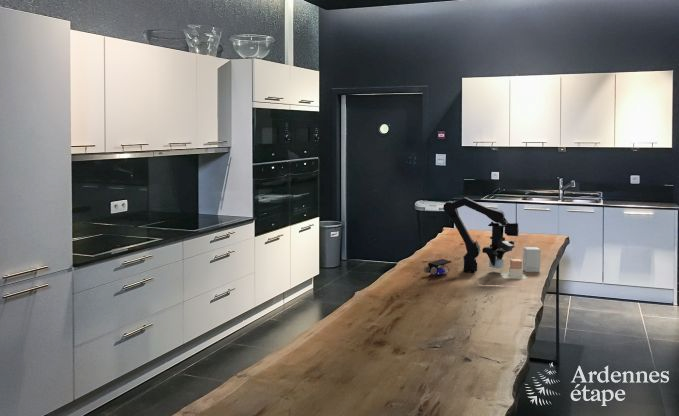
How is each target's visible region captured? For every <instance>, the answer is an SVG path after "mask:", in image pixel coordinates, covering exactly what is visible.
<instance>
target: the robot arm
mask: <svg viewBox="0 0 679 416" xmlns="http://www.w3.org/2000/svg"><path fill="white" fill-rule="evenodd" d="M463 206H464V207H467V208H469V209H471V210H474V211H476V212H478V213H480V214H481V215H482V214H483V215H485V216H486V217H487V218H488V219H489V220H491V222H490V223H488V227H491V236H490V237H489V239H490V240H491V244H489V246H485V247H484V246H483V248H482V250H481V246H480V244H479V242H478V240H476V241H474V240H473V239H472V237H471V235H470V233H469V231H468V230H467V227H466V226H465V224H464V222H463V220H462V219H461V217H460V214H459V210H458V209H459V208H462V207H463ZM442 210H443V211H444V213H445V214H446V215H447V216H448V218H450V219H451V221H452V223H453V224H454V226H455V228H456V230H457V231H458V234H459V235H460V237H461V238H462V240H463V242H464V245H465V249H466V253H465V254H464V255H463V256H462V257H463V258H462V259H463V266H462V267H463V268H462V271H463V273H475V271H476V272H477V271H478V261H477V257H478V256H479V255H480V253H481V251H482V253H483V254H486V255H487V257H488V259H489V262H490V261H491V264H492V266H495V260H496V258H498V259H503V257H504V256H505V254H506V253H509V252H512V251H513V248H515V241H514V240H510V241H507V240H506V237H504V235H506V236H508V237H519V233H520V232H519V230H520V228H519V223H518V222H509V221H508V220H507V219H506V217H505V213H504V211H503V210H501V209H496V208H492V207H488V206H485V205H483V204H482V203H479V202H477V201H474V200H473V199H470V198H469V197H468V196H467V197H465V196H464V197H462V198H460V199H457V200H453V201H452V200H448V201H447V202H445V203H444V204H443V207H442Z"/></svg>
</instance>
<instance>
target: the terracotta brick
mask: <svg viewBox="0 0 679 416" xmlns="http://www.w3.org/2000/svg"><path fill="white" fill-rule="evenodd" d="M509 266H510V267H511V269H522V267H523V260H522V259H520V258H510V262H509Z"/></svg>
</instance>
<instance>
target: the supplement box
mask: <svg viewBox="0 0 679 416" xmlns="http://www.w3.org/2000/svg"><path fill="white" fill-rule="evenodd" d="M522 249H523V252H522V254H523V255H522V269H523V272H527V273H541V253H542V251H541V249H540V248H539V247H536V246H533V247H532V246H523V248H522Z"/></svg>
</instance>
